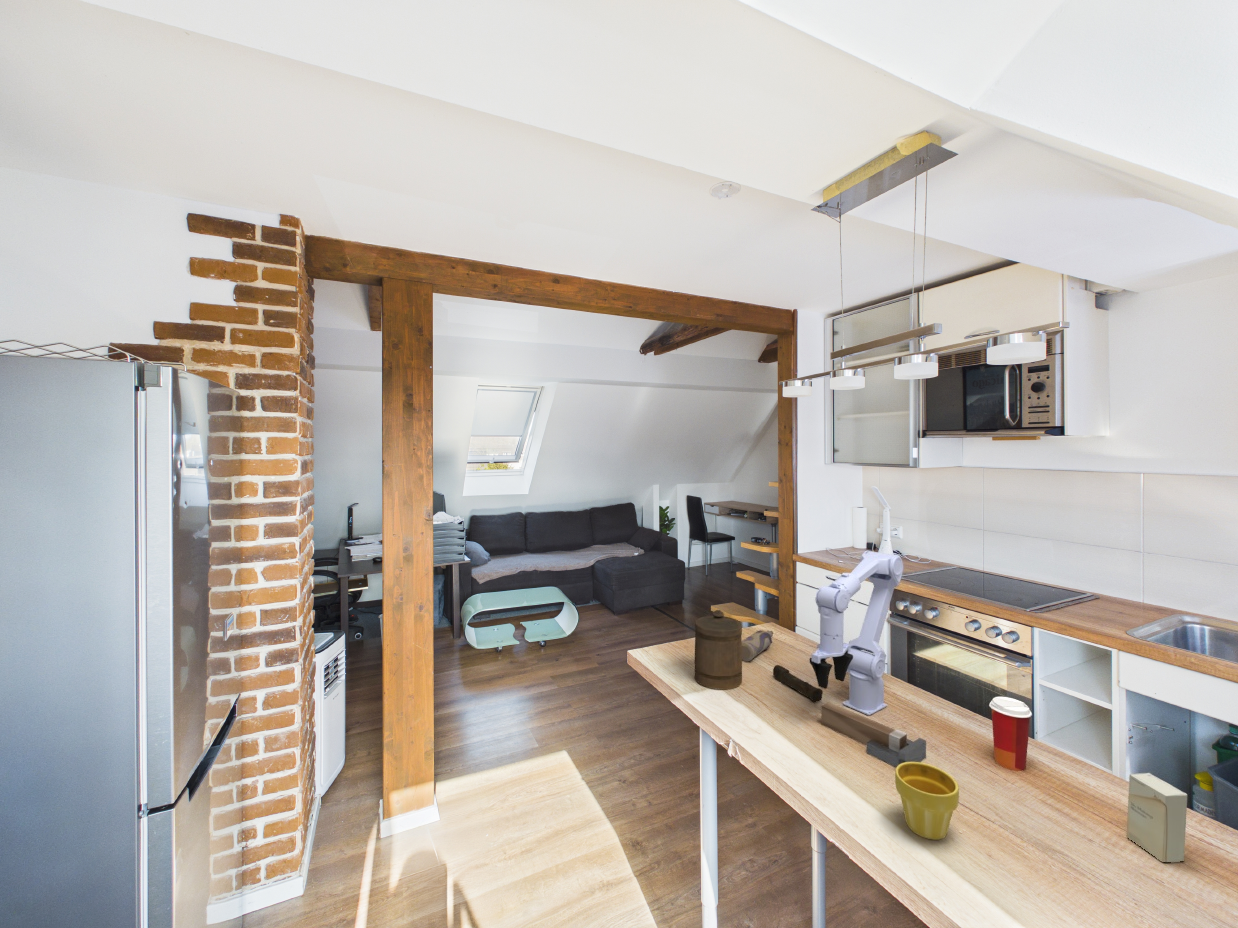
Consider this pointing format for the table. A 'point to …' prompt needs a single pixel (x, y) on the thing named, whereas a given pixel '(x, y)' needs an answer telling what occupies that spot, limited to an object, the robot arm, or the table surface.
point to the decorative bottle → (755, 644)
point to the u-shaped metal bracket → (907, 754)
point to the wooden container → (718, 651)
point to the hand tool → (797, 683)
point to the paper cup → (1010, 732)
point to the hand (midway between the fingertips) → (831, 683)
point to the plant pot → (926, 798)
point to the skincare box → (1157, 817)
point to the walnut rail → (861, 727)
